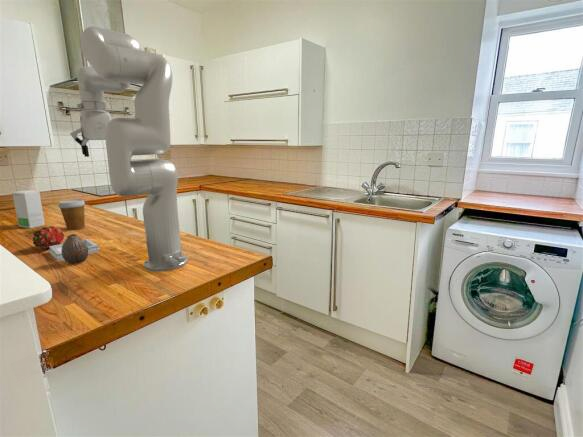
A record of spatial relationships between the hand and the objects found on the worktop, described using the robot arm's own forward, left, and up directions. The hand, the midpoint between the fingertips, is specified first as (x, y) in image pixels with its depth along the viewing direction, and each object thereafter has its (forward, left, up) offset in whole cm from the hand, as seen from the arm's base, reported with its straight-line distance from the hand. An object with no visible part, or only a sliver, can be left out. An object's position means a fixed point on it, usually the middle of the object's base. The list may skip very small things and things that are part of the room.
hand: (101, 156), depth 120 cm
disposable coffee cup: (+24, +7, -31) cm, 40 cm away
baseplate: (-11, +16, -31) cm, 37 cm away
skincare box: (+44, +19, -31) cm, 57 cm away
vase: (-22, +18, -32) cm, 42 cm away
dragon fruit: (+1, +20, -32) cm, 37 cm away
